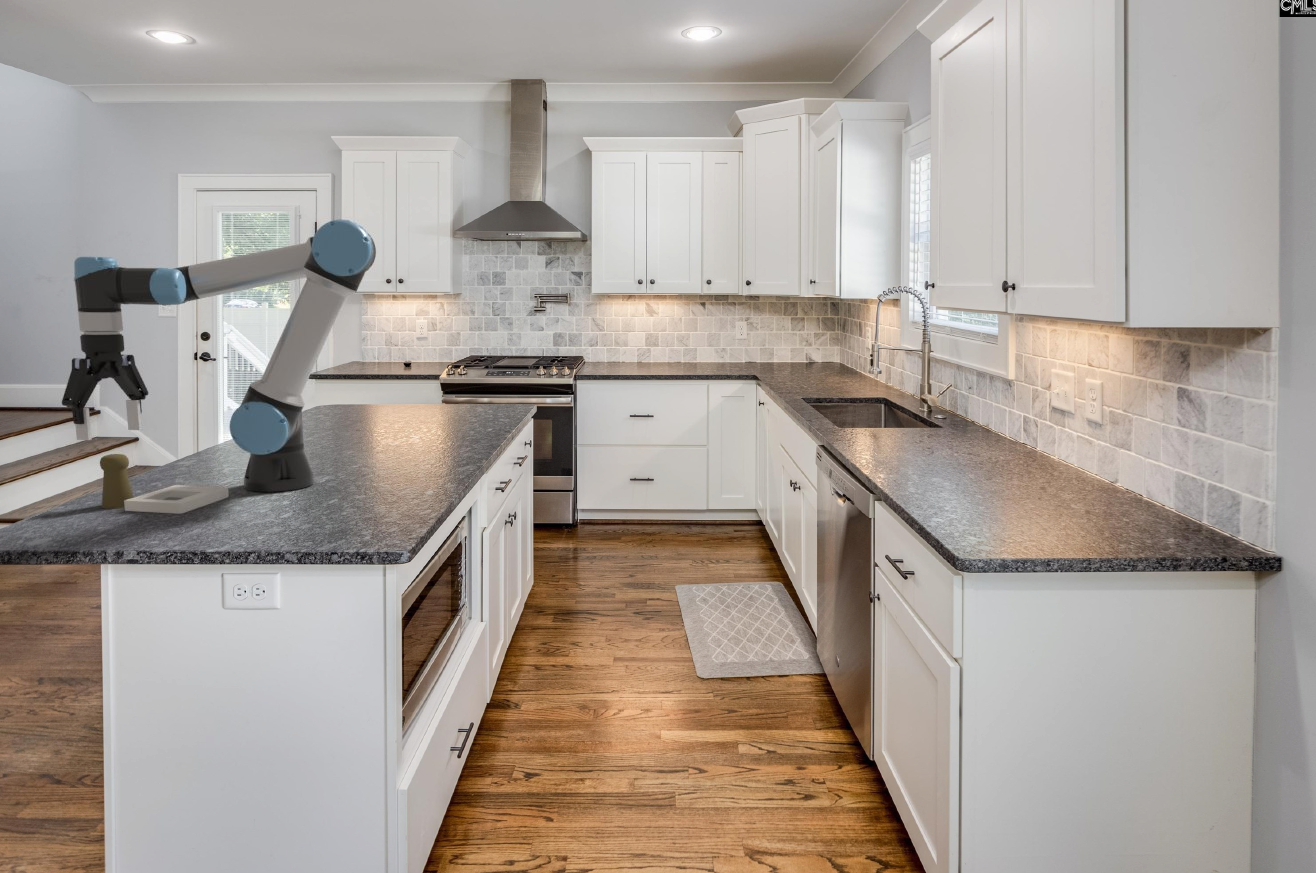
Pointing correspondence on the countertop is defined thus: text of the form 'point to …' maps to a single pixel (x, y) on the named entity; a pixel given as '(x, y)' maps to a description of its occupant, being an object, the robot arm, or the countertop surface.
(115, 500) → the cork
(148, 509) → the socket plate
